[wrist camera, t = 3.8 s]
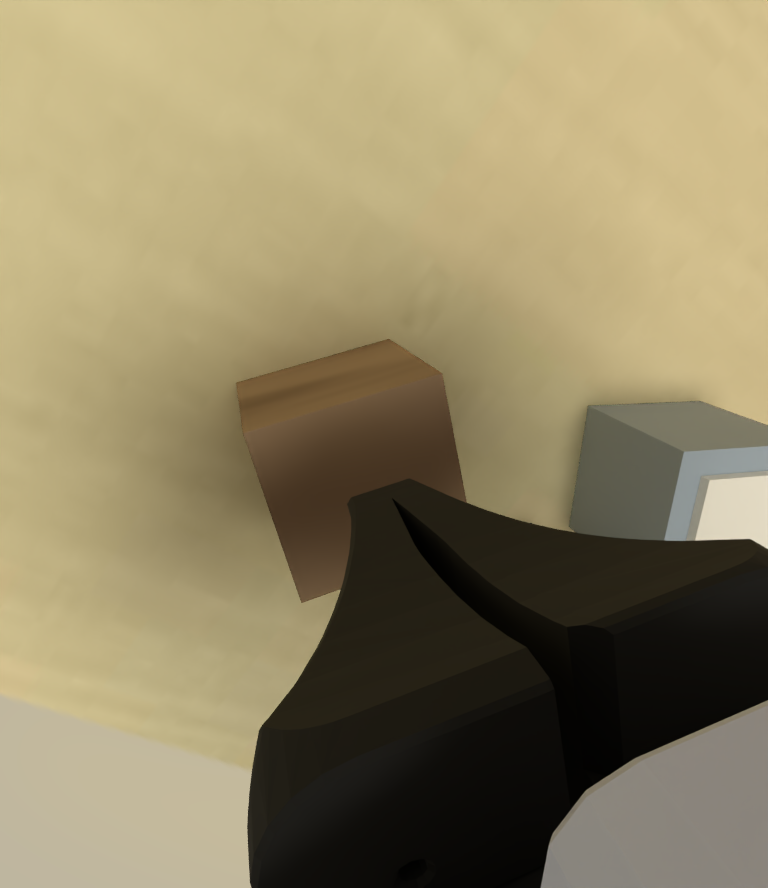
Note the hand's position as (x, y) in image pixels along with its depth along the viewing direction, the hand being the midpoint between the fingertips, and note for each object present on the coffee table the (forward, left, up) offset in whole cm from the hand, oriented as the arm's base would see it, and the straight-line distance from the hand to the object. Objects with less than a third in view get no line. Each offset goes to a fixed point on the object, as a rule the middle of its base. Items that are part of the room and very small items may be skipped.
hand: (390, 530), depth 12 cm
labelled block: (-5, -10, -7) cm, 13 cm away
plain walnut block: (0, 0, -7) cm, 7 cm away
